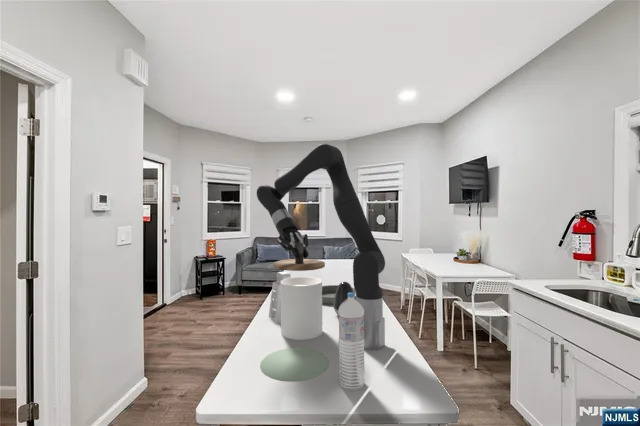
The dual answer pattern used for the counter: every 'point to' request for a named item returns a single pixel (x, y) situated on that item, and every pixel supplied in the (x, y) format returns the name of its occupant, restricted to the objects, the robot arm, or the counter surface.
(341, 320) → the water bottle
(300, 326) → the canister
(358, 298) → the robot arm
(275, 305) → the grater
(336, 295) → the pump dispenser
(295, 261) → the lid
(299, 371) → the mat
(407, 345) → the counter surface
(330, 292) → the cake pan
